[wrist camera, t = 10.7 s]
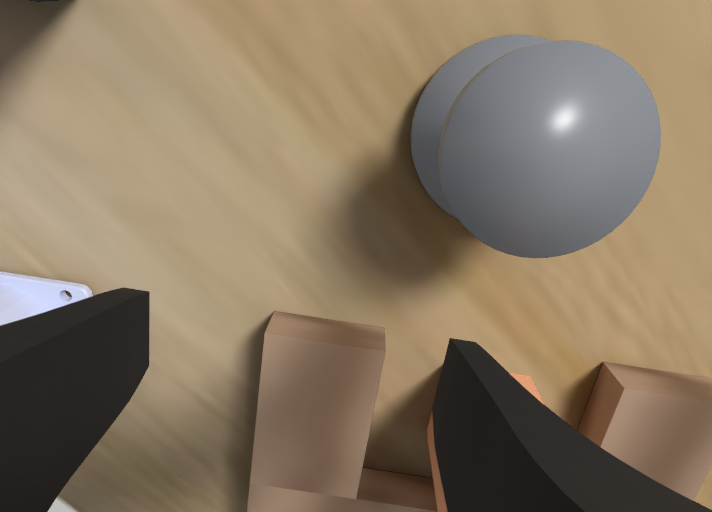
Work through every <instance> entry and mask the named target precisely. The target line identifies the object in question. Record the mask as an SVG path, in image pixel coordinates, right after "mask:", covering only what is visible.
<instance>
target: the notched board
mask: <svg viewBox="0 0 712 512" xmlns="http://www.w3.org/2000/svg"><path fill="white" fill-rule="evenodd" d="M385 352H386V351H385V328H380V327H374V326H367V325H361V324H354V323H348V322H341V321H335V320H328V319H322V318H315V317H309V316H303V315H296V314H290V313H283V312H277V311H274V313H273V315H272V317H271V320H270V322H269V324H268V327H267V329H266V331H265V334H264V344H263V355H262V365H261V375H260V385H259V395H258V405H257V415H256V425H255V435H254V445H253V455H252V465H251V475H250V485H249V495H248V505H247V512H438V510H437V503H436V496H435V489H434V482H433V478H427V477H421V476H414V475H407V474H401V473H394V472H387V471H381V470H374V469H367V468H362V467H363V462H364V457H365V452H366V447H367V442H368V437H369V432H370V427H371V422H372V417H373V412H374V407H375V402H376V397H377V392H378V387H379V382H380V377H381V372H382V367H383V362H384V357H385ZM577 431H578V432H580V433H581V434H582V435H584V436H585V437H587V438H588V439H590V440H591V441H592V442H594V443H595V444H597V445H598V446H599V447H601V448H602V449H604V450H605V451H607V452H609V453H610V454H612V455H613V456H615V457H616V458H618V459H620V460H621V461H623V462H625V463H626V464H628V465H630V466H631V467H633V468H635V469H636V470H638V471H640V472H641V473H643V474H644V475H646V476H648V477H650V478H651V479H653V480H655V481H657V482H659V483H660V484H662V485H664V486H666V487H668V488H669V489H671V490H673V491H675V492H677V493H679V494H681V495H683V496H685V497H687V498H689V499H691V500H693V501H694V499H695V497H696V495H697V494H698V492H699V490H700V488H701V486H702V484H703V482H704V480H705V478H706V476H707V474H708V472H709V470H710V468H711V466H712V379H710V378H703V377H697V376H690V375H684V374H677V373H671V372H664V371H658V370H651V369H645V368H639V367H632V366H626V365H619V364H613V363H606V362H603V364H602V366H601V369H600V372H599V374H598V377H597V380H596V382H595V385H594V387H593V390H592V393H591V395H590V398H589V400H588V403H587V406H586V408H585V411H584V414H583V416H582V419H581V421H580V424H579V427H578V429H577Z"/></svg>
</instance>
